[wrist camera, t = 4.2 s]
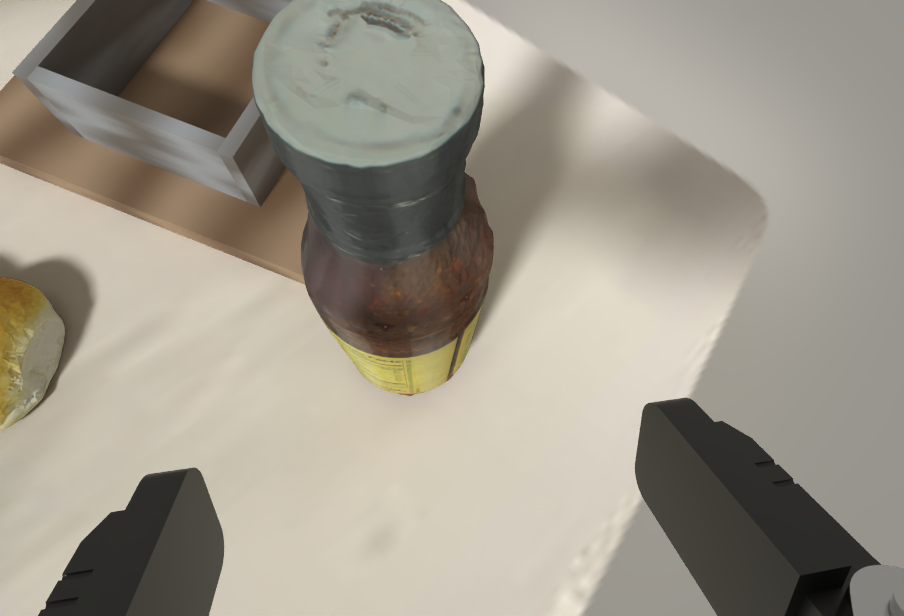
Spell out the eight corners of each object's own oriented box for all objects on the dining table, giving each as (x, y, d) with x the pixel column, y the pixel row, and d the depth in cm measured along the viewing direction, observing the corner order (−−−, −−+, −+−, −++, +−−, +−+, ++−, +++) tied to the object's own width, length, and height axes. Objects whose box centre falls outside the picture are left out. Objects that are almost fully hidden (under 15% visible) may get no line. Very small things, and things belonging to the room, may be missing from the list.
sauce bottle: (417, 267, 29) (421, -132, 10) (490, 350, 28) (649, 67, 9) (322, 338, 27) (116, 15, 8) (395, 429, 26) (343, 289, 7)
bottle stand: (-20, 155, 29) (-124, 76, 24) (154, -47, 35) (104, -149, 30) (330, 294, 28) (308, 246, 22) (449, 60, 34) (456, -25, 28)
